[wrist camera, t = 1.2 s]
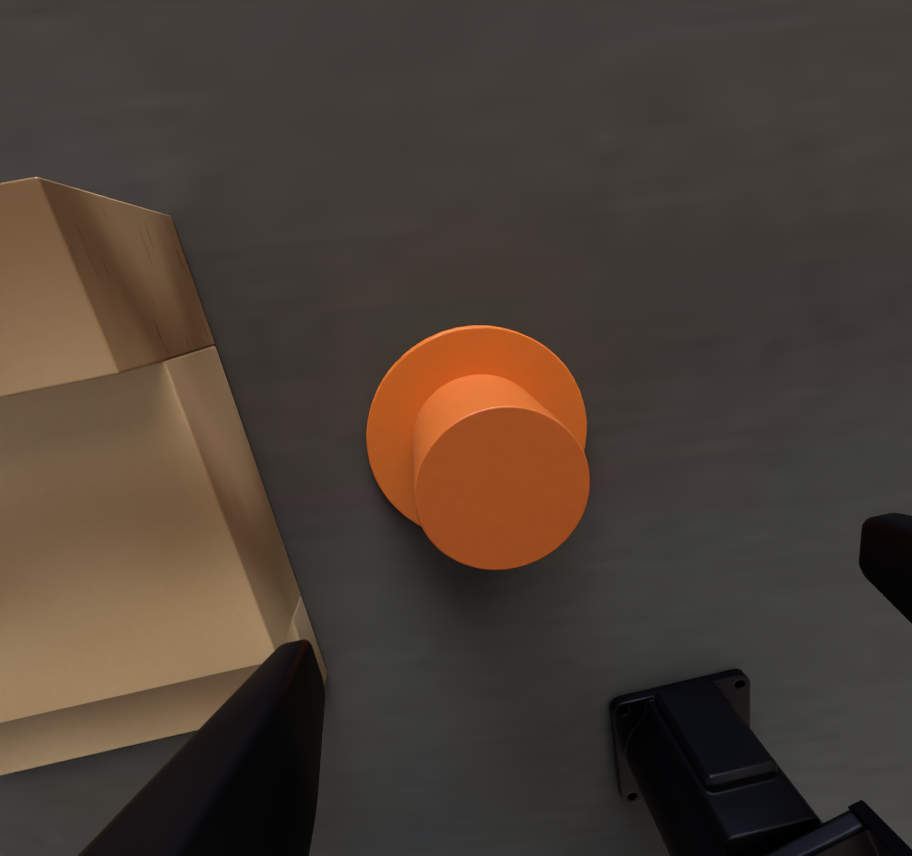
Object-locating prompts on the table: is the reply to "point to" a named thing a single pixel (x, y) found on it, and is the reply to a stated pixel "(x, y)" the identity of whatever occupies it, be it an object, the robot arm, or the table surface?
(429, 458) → the hat
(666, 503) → the table surface
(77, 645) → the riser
